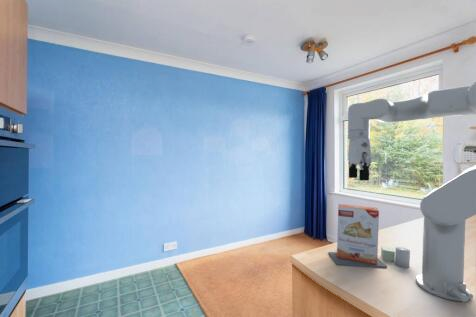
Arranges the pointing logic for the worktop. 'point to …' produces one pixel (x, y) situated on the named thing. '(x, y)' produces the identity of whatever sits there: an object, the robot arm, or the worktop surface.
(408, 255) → the grey rounded capsule
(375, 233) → the cracker box
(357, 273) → the worktop surface
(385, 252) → the sage block
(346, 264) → the mat
